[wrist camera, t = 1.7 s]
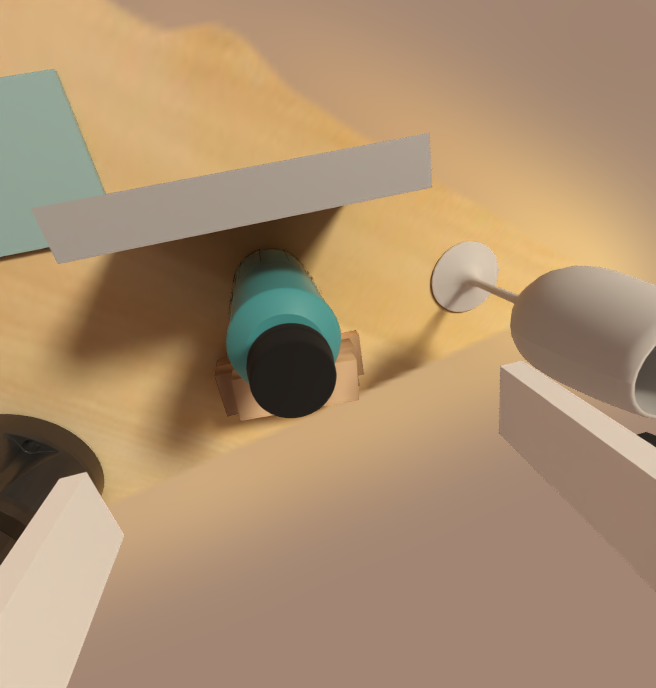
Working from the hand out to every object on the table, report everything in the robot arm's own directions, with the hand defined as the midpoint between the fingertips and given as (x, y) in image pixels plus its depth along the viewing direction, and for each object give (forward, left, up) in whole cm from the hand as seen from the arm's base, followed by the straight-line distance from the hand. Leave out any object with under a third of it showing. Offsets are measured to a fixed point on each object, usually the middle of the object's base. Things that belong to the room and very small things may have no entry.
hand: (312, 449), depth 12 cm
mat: (-17, +12, -24) cm, 32 cm away
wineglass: (+19, -4, -25) cm, 31 cm away
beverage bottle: (0, 0, -25) cm, 25 cm away
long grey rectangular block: (0, +7, -24) cm, 26 cm away
